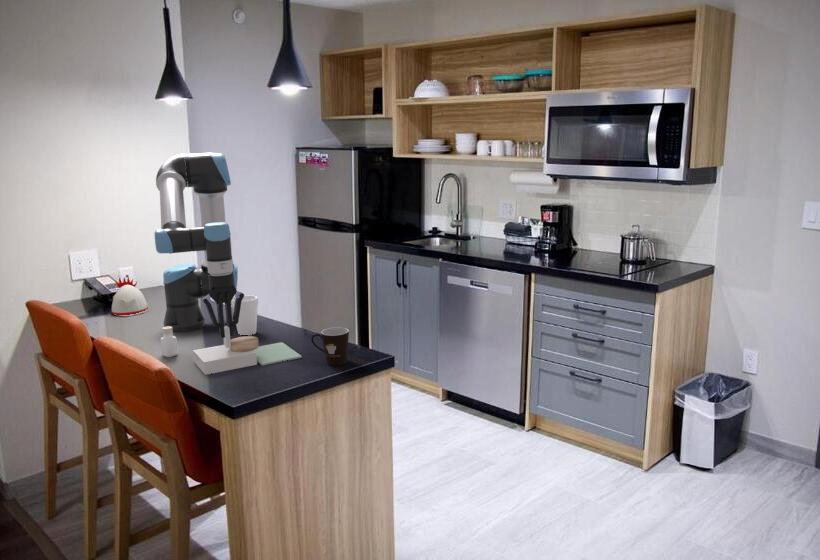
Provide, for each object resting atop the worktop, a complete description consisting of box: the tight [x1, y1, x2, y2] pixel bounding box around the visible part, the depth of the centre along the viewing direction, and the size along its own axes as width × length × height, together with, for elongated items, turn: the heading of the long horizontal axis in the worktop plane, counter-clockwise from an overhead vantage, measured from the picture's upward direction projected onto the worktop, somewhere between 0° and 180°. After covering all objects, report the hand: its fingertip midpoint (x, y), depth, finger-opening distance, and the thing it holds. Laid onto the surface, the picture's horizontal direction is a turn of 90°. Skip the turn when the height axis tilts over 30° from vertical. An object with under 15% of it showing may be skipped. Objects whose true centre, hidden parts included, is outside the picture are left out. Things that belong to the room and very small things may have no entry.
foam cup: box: [231, 294, 259, 336], centre depth 245 cm, size 10×9×13 cm
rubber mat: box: [254, 342, 302, 367], centre depth 221 cm, size 18×13×1 cm
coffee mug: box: [310, 326, 350, 366], centre depth 211 cm, size 12×9×10 cm
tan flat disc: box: [230, 335, 260, 352], centre depth 216 cm, size 9×9×2 cm
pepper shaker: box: [160, 326, 179, 358], centre depth 222 cm, size 4×4×10 cm
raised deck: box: [192, 344, 258, 376], centre depth 213 cm, size 14×16×4 cm
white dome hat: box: [111, 276, 149, 315], centre depth 280 cm, size 14×14×15 cm
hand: (227, 346), depth 213 cm, fingers closed
